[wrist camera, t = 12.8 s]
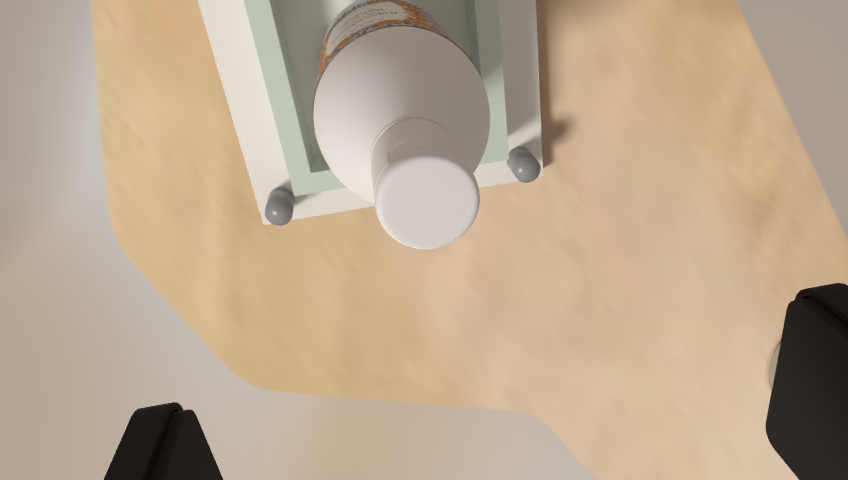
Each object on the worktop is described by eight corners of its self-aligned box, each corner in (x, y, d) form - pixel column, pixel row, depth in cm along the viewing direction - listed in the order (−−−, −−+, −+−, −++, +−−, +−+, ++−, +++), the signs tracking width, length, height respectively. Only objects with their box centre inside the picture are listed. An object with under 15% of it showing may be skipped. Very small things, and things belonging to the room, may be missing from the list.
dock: (524, -153, 31) (547, -163, 27) (538, 170, 40) (558, 195, 36) (173, -101, 30) (150, -104, 27) (265, 218, 39) (258, 247, 35)
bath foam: (416, -29, 32) (508, 30, 15) (461, 90, 35) (580, 255, 18) (299, 25, 33) (250, 144, 15) (354, 137, 36) (366, 343, 18)
